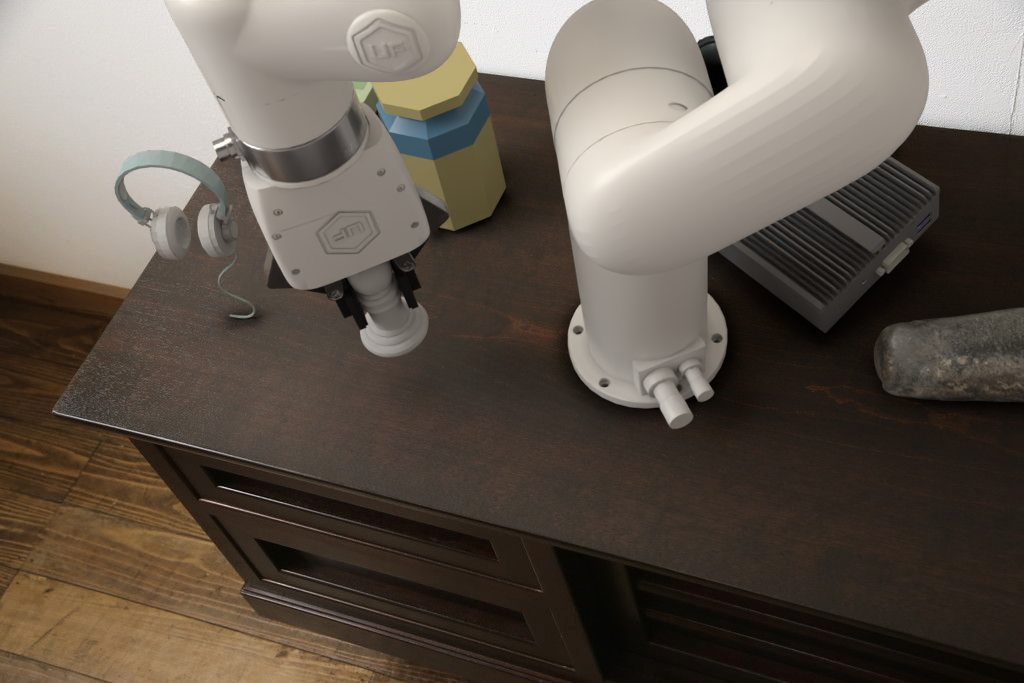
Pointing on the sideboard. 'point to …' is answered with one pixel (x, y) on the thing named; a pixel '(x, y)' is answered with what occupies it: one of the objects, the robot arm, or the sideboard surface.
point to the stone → (955, 357)
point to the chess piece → (387, 313)
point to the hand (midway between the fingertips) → (383, 303)
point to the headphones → (172, 222)
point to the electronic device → (840, 242)
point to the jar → (446, 137)
